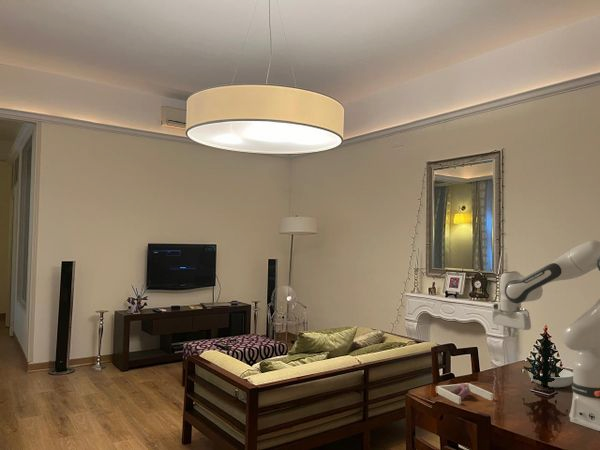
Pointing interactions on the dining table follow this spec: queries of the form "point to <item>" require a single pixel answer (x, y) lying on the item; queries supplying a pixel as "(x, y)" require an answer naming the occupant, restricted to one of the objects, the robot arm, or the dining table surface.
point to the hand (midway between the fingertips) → (511, 336)
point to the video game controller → (462, 390)
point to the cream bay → (446, 393)
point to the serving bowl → (558, 379)
